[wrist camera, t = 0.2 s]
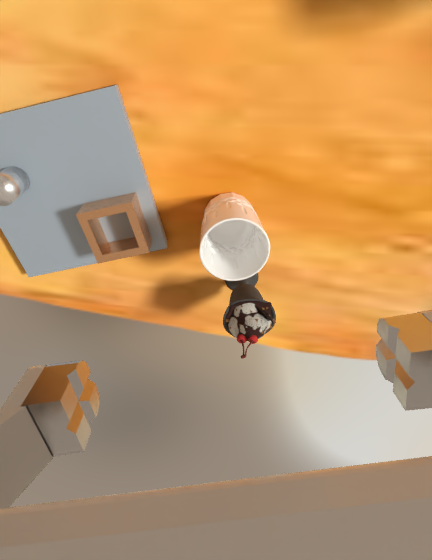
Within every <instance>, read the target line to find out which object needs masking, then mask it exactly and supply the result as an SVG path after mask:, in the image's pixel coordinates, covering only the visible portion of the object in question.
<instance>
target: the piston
mask: <svg viewBox="0 0 432 560" xmlns="http://www.w3.org/2000/svg"><path fill="white" fill-rule="evenodd" d="M29 187H30V179H29V177H28V175H27V173H26V172H25V171H24V170H22V169H21V168H19V167H15V166H10V167H7V168H5V169H4V170H2V171H0V206H7V205H10V204H11V203H12V202H13V201H15V200H16V199H17V198H18V197H19V196H21V195H22V194H23V193H24V192H25V191H27V190H28V189H29Z"/></svg>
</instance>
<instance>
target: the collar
mask: <svg viewBox="0 0 432 560" xmlns="http://www.w3.org/2000/svg"><path fill="white" fill-rule="evenodd" d="M123 212H126V213H127V216H128V218H129V221H130V224H131V227H132V229H133V232H134V235H135V237H132V238H127V239H123V240H118V241H113V242H109V243H108V241H107V239H106V236H105V234H104V231H103V229H102V227H101V224H100V222H99V219H98V218H100V217H105V216H109V215H114V214H119V213H123ZM76 216H77V218H78V221H79V223H80V225H81V227H82V229H83V232H84V234H85V236H86V238H87V241H88V243H89V245H90V247H91V249H92V252H93V254H94V256H95V258H96V261H97V263H102V262H107V261H112V260H117V259H121V258H126V257H131V256H136V255H140V254H145V253H149V252H150V248H151V244H152V238H151V235H150V232H149V229H148V226H147V223H146V220H145V217H144V214H143V212H142V209H141V206H140V203H139V200H138V197H137V194H136V192H133V193H129V194H125V195H120V196H116V197H111V198H107V199H102V200H98V201H93V202H89V203H85V204H83V205H82V207H81V208H80V209H79V211H78V212H77V213H76Z"/></svg>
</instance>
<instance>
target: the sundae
mask: <svg viewBox="0 0 432 560" xmlns="http://www.w3.org/2000/svg"><path fill="white" fill-rule="evenodd" d="M257 281H258V273H256V274H255V275H253V276H251V277H249V278H247V279H243V280H238V281H228V280H225V282H226V284H227V286H228V287H229V288H230V289H232V290H233V291H232V293H231V297H230V304H229V306H228V308H227V310H226V312H225V314H224V318H223V325H224V328H225V329H226V331H227V332H228V333H230V334H231V335H232V336H234V337H236V338H237V341H238V342H239V343H242V346H243V355H242V356H241V358H245V357H246V352H247V349H246V352H245V355H244V344H243V343H245V342H246V341H249V342H250V344H251V343H252V344H254V343H256V342H257V341H258V339H259V338H261V337H262V336H263V335H264V334H266V333H267V332H268V331H270V330H271V329H272V328H273V326H274V325H275V323H276V322H275V321H276V315H275V311H274V308H273V307H272V305H271V303H270V302H267V301H265V300H263V298H262V296H261V294H260V293H259V291H258V290H257V289H256V288H255V287H254V286H255V284H256V283H257ZM250 344H249V345H248V347H249V346H250ZM248 347H247V348H248Z"/></svg>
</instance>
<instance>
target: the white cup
mask: <svg viewBox="0 0 432 560" xmlns="http://www.w3.org/2000/svg"><path fill="white" fill-rule="evenodd" d="M199 253H200V259H201V261H202V264H203V265H204V267H205V268H206V269H207V271H208V272H210V273H211V274H212V275H214V276H215V277H217V278H220V279H223V280H228V281H238V280H243V279H247V278H249V277H251V276H253V275H255V274H256V273H257V272H259V271H260V270H261V269H262V268H263V266H264V265H265V264H266V262H267V260H268V257H269V253H270V242H269V239H268V236H267V234H266V232H265V230H264V228H263V226H262V223H261V221H260V219H259V218H258V216H257V214H256V212H255V211H254V209H253V207H252V205H251V203H250V202H249V201H248V200H247V199H246V198H245V197H244V196H242V195H239V194H236V193H232V192H231V193H223V194H219V195H218V196H216V197H215V198H213V199H211V200H210V202H209V203H208V205H207V207H206V208H205V211H204V218H203V221H202V228H201V239H200V248H199Z"/></svg>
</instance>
